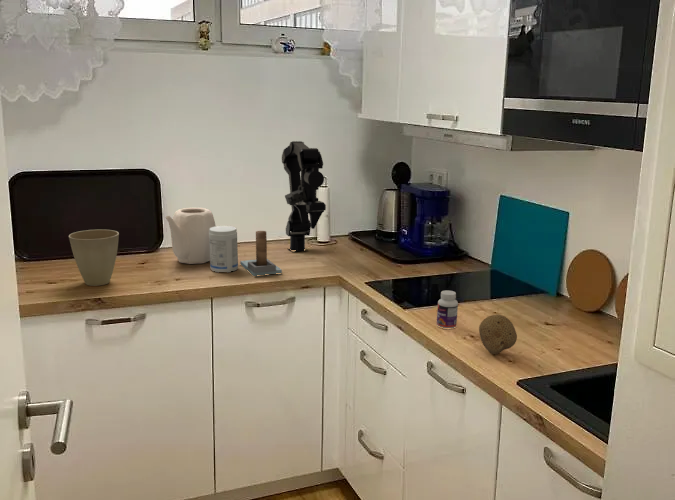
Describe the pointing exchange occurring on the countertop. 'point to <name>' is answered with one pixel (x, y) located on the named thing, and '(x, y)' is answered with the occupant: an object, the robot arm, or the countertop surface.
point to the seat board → (260, 268)
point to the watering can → (191, 234)
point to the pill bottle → (447, 310)
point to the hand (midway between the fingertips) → (308, 226)
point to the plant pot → (95, 254)
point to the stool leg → (261, 248)
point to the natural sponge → (497, 333)
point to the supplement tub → (223, 248)
